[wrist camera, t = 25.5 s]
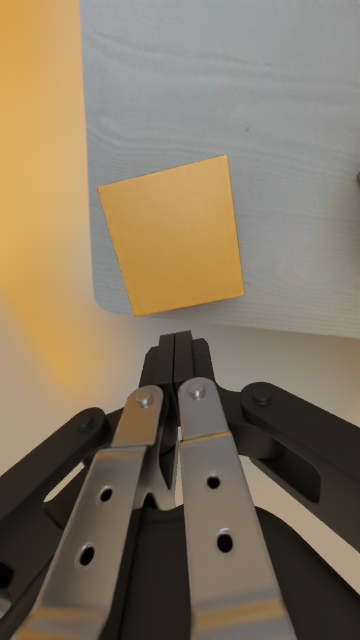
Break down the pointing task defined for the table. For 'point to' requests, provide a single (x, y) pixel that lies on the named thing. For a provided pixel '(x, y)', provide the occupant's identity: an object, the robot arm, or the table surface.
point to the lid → (175, 236)
